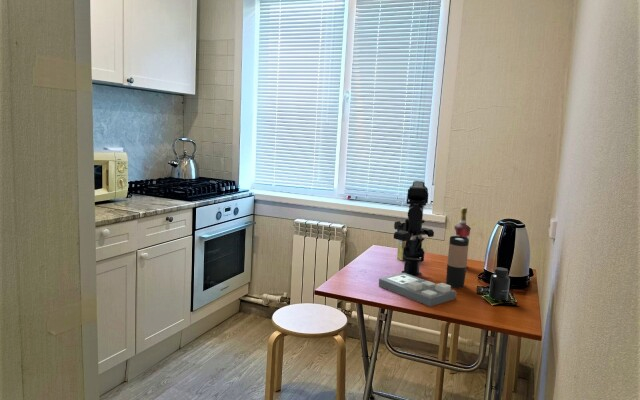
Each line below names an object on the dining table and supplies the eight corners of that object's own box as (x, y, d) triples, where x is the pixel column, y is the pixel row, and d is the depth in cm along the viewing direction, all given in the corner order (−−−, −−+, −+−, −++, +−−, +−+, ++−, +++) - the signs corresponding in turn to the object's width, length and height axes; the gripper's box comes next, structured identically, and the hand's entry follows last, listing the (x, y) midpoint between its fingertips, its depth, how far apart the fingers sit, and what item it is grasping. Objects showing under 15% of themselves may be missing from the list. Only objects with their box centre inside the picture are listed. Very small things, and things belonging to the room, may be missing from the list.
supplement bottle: (505, 303, 175) (509, 272, 173) (486, 299, 179) (490, 269, 177) (509, 298, 181) (512, 268, 179) (490, 294, 184) (493, 265, 182)
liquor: (449, 263, 225) (454, 206, 221) (464, 264, 225) (470, 207, 221) (452, 267, 218) (457, 208, 214) (468, 269, 218) (474, 209, 213)
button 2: (426, 288, 186) (427, 280, 186) (434, 291, 183) (435, 283, 183) (420, 290, 184) (420, 282, 183) (428, 293, 181) (429, 285, 180)
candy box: (411, 257, 233) (414, 227, 231) (416, 259, 230) (419, 229, 227) (396, 258, 230) (398, 228, 228) (401, 260, 226) (403, 229, 224)
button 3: (427, 297, 176) (428, 289, 176) (436, 301, 173) (437, 292, 172) (420, 299, 174) (421, 291, 173) (429, 303, 171) (430, 294, 170)
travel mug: (451, 280, 199) (455, 235, 196) (468, 285, 194) (472, 238, 191) (441, 284, 194) (446, 237, 191) (458, 289, 188) (463, 241, 185)
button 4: (441, 290, 181) (442, 282, 180) (450, 293, 178) (450, 285, 177) (434, 292, 178) (435, 284, 178) (443, 295, 175) (444, 287, 175)
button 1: (413, 288, 181) (414, 280, 181) (421, 292, 178) (422, 283, 178) (406, 290, 179) (407, 282, 178) (414, 293, 176) (415, 285, 175)
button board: (403, 279, 198) (404, 272, 197) (455, 298, 178) (456, 290, 177) (378, 285, 189) (379, 277, 188) (430, 306, 169) (430, 297, 168)
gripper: (415, 212, 202) (412, 247, 205) (384, 215, 191) (382, 252, 193) (436, 216, 194) (432, 253, 196) (405, 220, 182) (402, 259, 184)
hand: (412, 254), depth 193 cm, fingers closed
